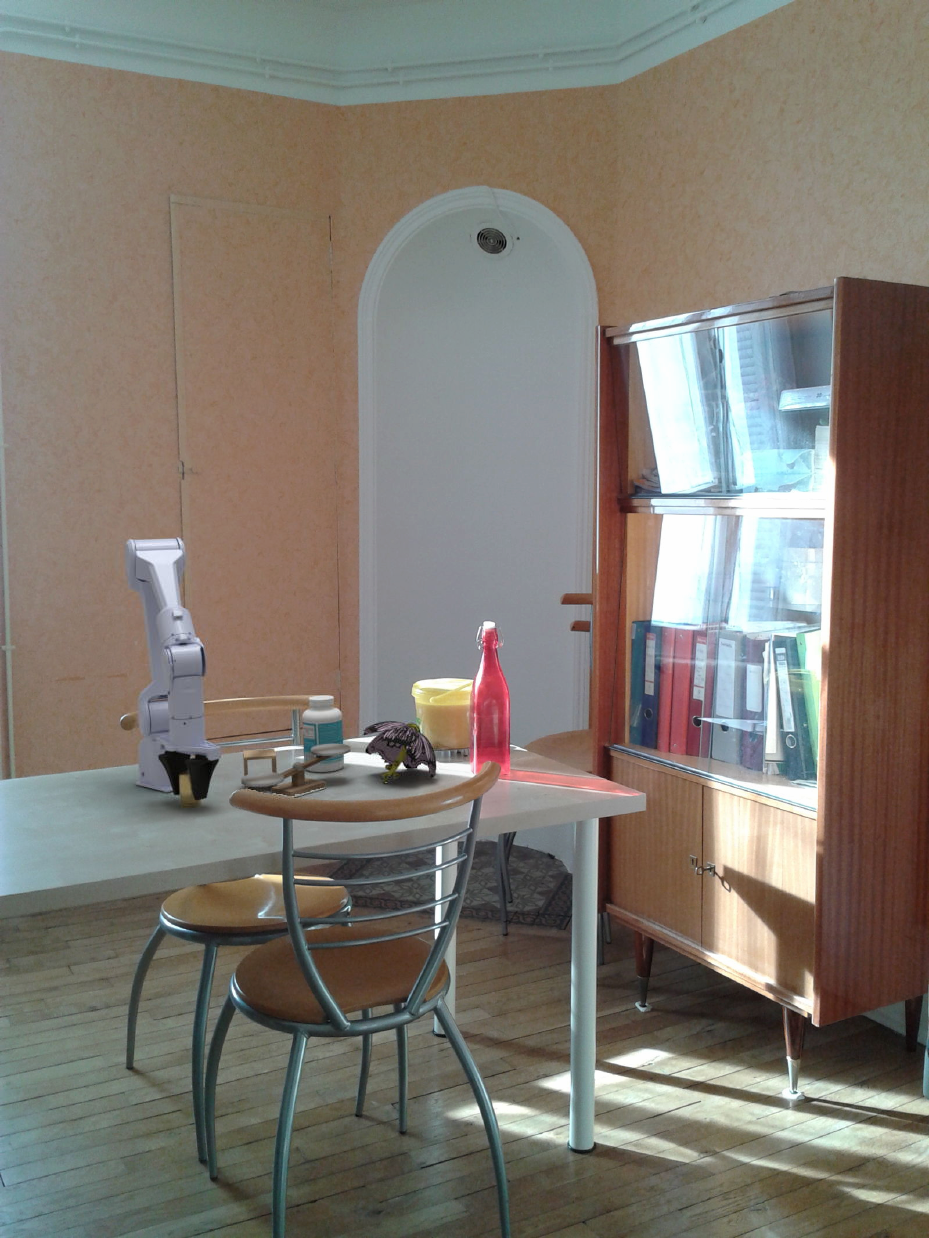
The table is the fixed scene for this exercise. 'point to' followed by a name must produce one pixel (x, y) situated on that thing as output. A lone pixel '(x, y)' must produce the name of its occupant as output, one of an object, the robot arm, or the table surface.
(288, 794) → the balance
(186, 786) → the cylinder
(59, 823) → the table surface
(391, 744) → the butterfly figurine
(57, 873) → the table surface
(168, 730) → the robot arm
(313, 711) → the pill bottle
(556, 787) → the table surface
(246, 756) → the small wooden stool
